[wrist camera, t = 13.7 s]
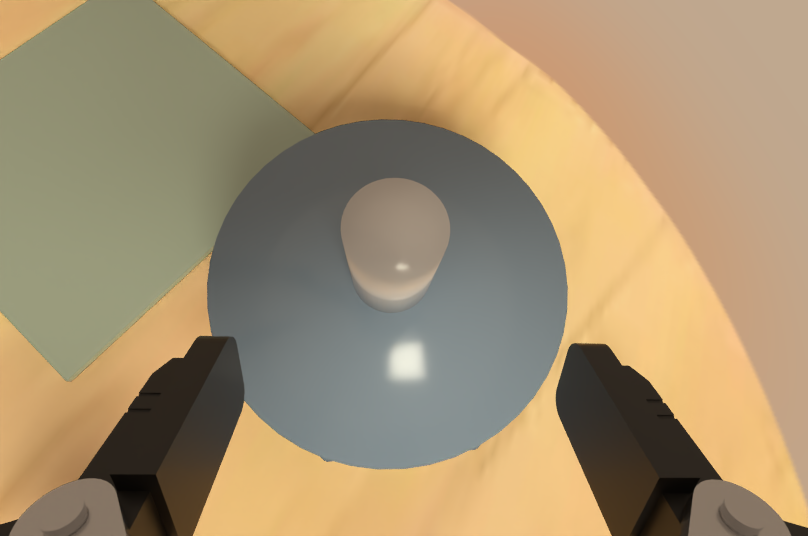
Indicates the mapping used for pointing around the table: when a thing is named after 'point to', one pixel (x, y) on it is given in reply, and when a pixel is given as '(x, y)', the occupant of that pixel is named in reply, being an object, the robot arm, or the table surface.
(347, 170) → the food cover
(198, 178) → the rubber mat
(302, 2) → the table surface
